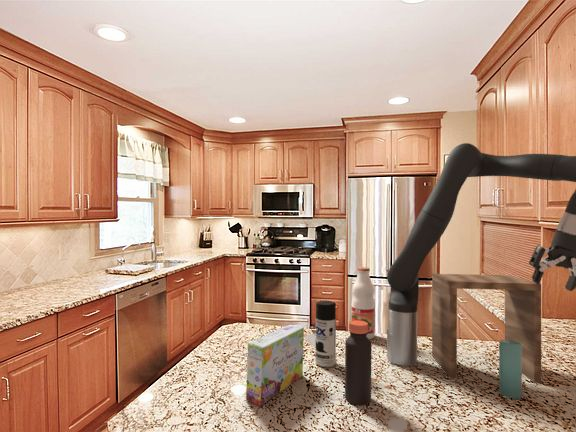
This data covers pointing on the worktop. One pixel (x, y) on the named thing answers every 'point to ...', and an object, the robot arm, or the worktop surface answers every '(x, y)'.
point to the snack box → (274, 363)
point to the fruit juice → (364, 300)
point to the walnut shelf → (518, 317)
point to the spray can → (325, 333)
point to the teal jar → (510, 369)
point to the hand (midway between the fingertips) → (551, 286)
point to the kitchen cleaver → (311, 337)
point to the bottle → (358, 364)
